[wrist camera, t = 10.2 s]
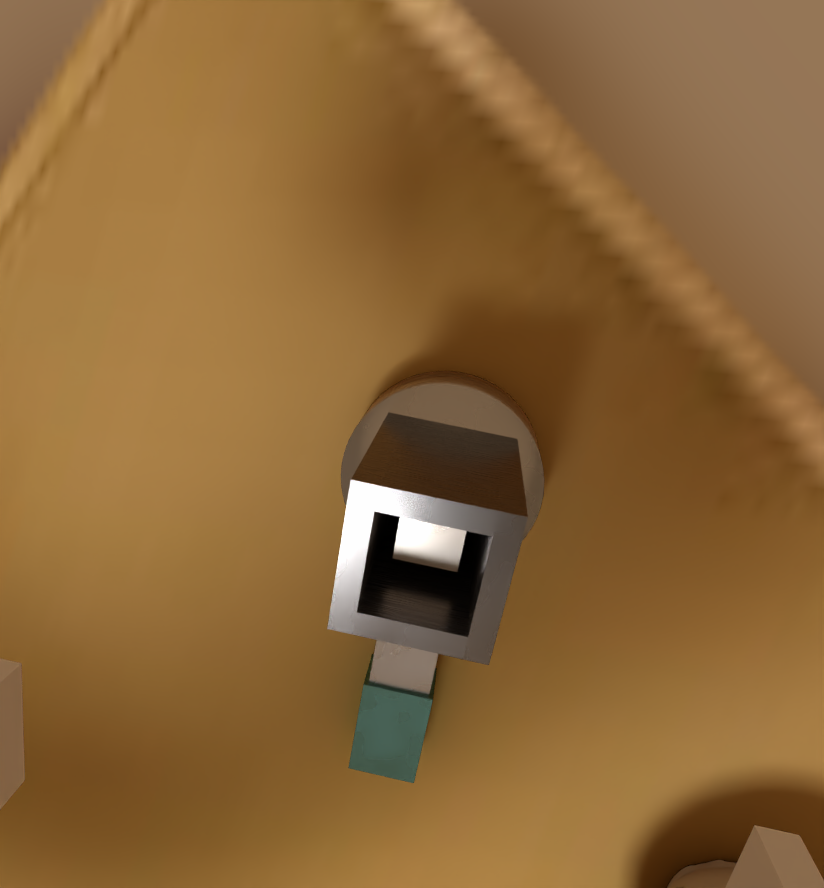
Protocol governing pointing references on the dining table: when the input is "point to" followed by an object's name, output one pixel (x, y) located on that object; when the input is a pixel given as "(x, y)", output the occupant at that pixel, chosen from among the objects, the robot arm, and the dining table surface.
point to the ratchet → (425, 558)
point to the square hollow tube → (442, 503)
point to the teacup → (704, 875)
